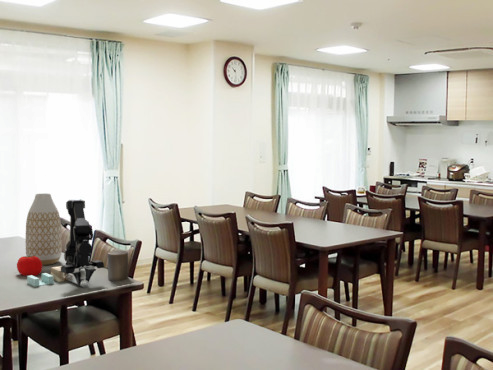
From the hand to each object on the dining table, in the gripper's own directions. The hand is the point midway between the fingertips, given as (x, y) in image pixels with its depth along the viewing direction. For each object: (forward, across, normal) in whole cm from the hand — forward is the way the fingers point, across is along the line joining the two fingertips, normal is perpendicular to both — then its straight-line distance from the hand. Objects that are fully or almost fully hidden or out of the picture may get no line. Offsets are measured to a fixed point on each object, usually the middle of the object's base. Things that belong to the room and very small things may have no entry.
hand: (82, 285), depth 250 cm
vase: (+1, -8, -60) cm, 61 cm away
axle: (0, 0, -6) cm, 6 cm away
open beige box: (+1, 0, -19) cm, 19 cm away
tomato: (+2, +8, -38) cm, 39 cm away
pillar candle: (+2, -20, -2) cm, 20 cm away
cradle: (+1, +12, -18) cm, 22 cm away
